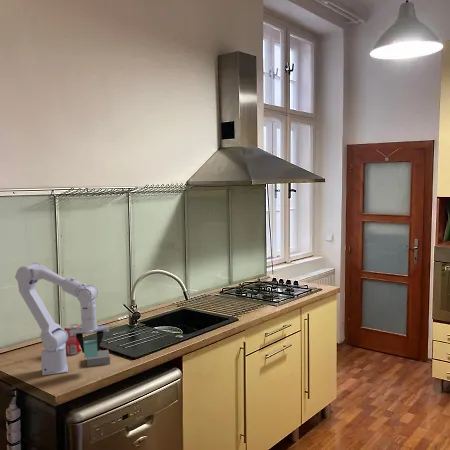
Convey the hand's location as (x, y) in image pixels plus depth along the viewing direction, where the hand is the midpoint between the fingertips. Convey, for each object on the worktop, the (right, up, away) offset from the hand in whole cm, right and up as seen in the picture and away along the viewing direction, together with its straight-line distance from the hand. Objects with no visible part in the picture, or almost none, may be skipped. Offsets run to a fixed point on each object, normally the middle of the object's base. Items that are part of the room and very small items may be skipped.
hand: (90, 351), depth 198 cm
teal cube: (0, -2, 0) cm, 2 cm away
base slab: (0, -7, +12) cm, 14 cm away
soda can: (-14, -7, +23) cm, 28 cm away
